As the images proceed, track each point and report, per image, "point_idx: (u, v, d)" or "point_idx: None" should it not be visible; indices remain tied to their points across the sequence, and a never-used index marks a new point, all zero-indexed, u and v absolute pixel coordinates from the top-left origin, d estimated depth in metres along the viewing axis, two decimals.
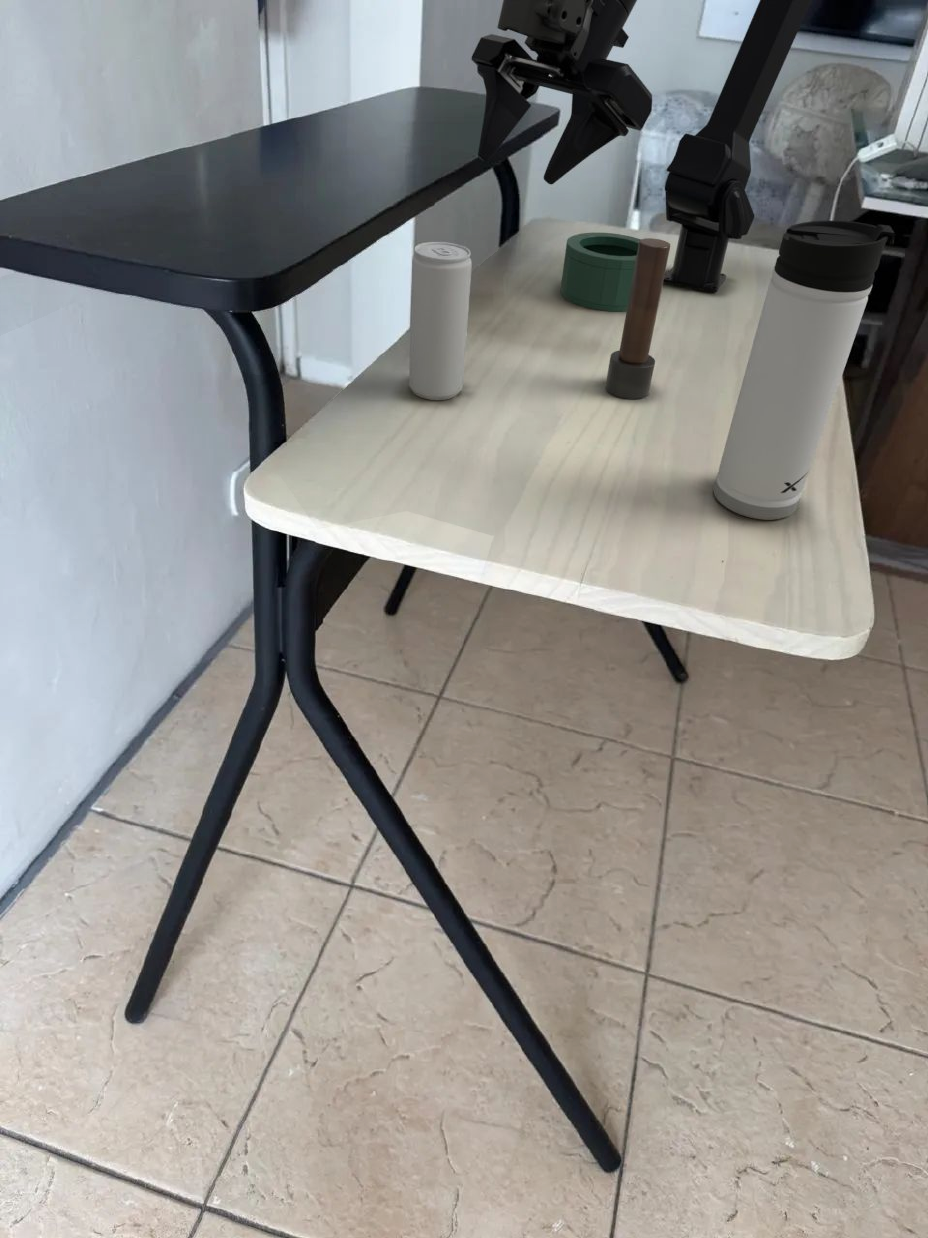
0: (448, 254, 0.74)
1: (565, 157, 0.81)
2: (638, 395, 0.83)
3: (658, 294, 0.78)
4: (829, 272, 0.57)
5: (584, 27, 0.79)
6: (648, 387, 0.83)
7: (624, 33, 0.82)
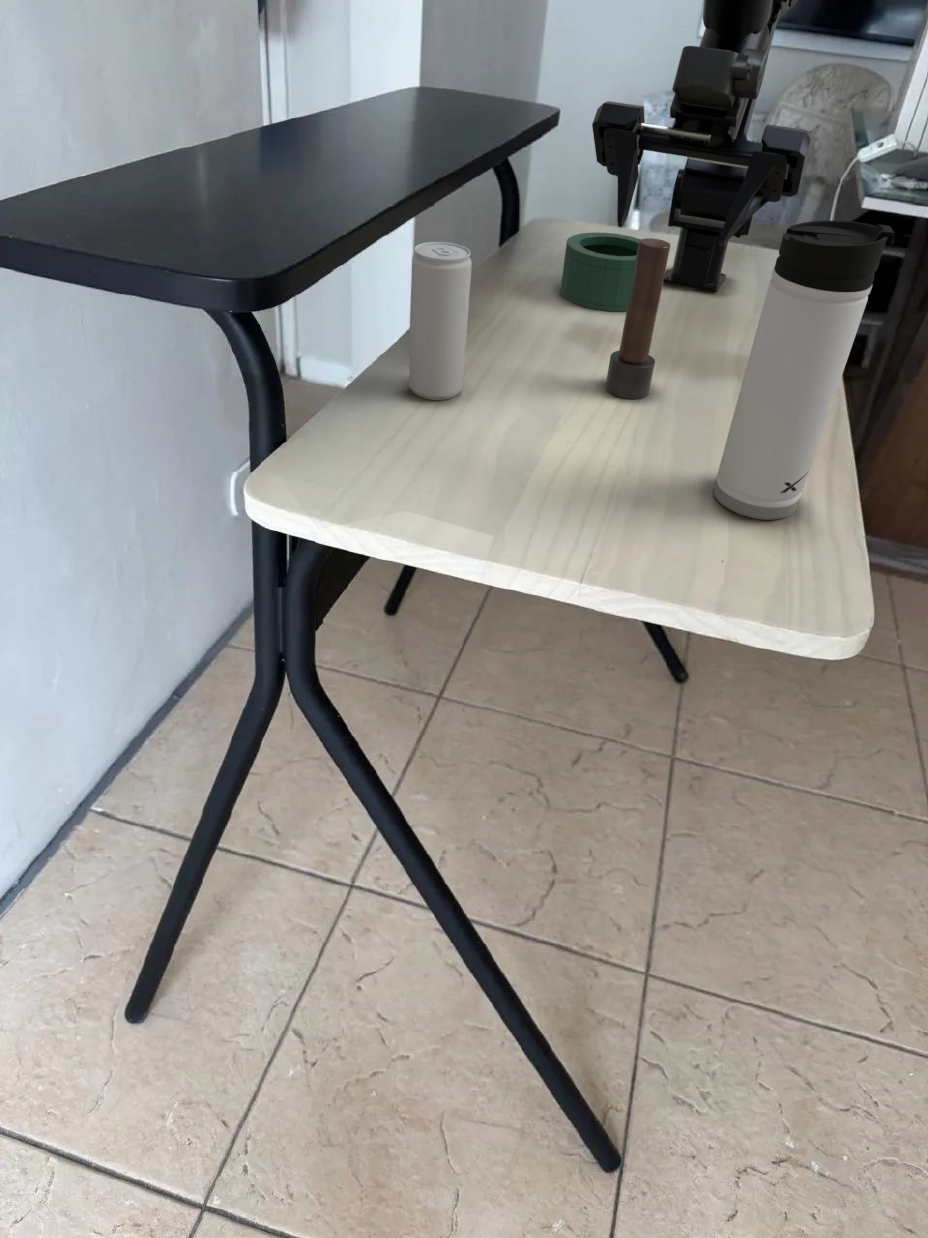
0: (448, 254, 0.74)
1: (739, 219, 0.80)
2: (638, 395, 0.83)
3: (658, 294, 0.78)
4: (829, 272, 0.57)
5: None
6: (648, 387, 0.83)
7: None
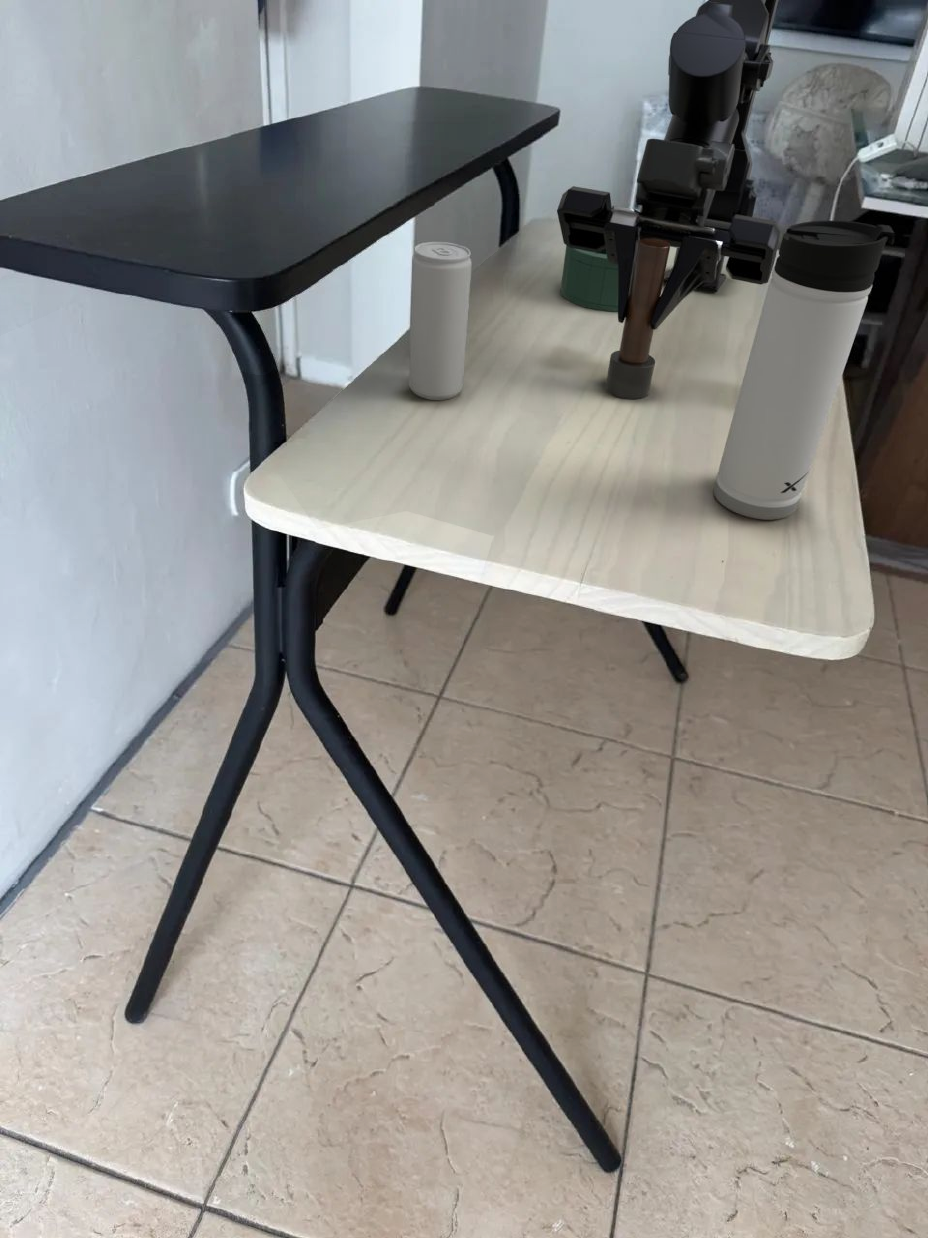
0: (448, 254, 0.74)
1: (671, 303, 0.79)
2: (638, 395, 0.83)
3: (658, 294, 0.78)
4: (829, 272, 0.57)
5: None
6: (648, 387, 0.83)
7: None
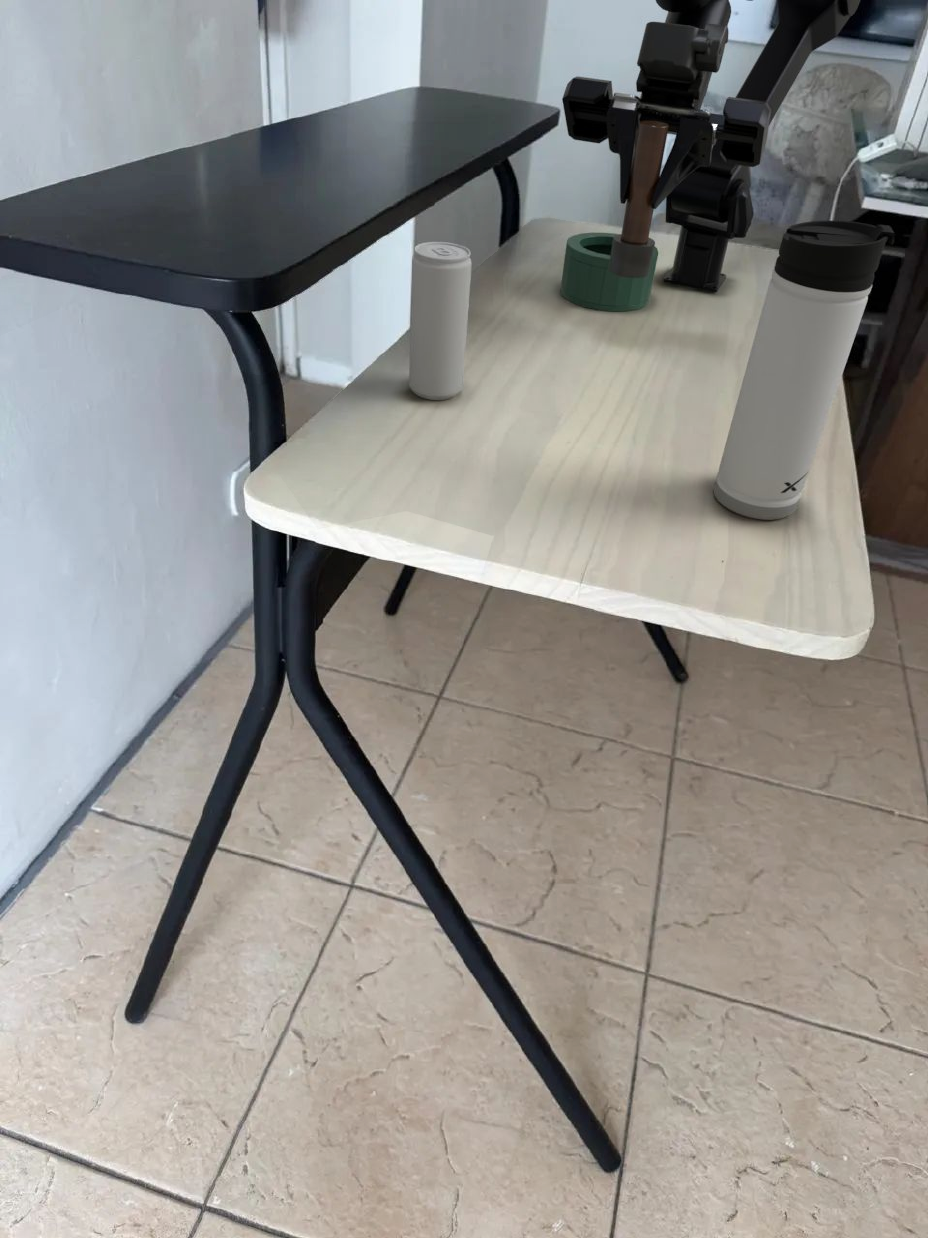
0: (448, 254, 0.74)
1: (669, 182, 0.84)
2: (639, 275, 0.89)
3: (657, 174, 0.84)
4: (829, 272, 0.57)
5: None
6: (649, 267, 0.89)
7: None
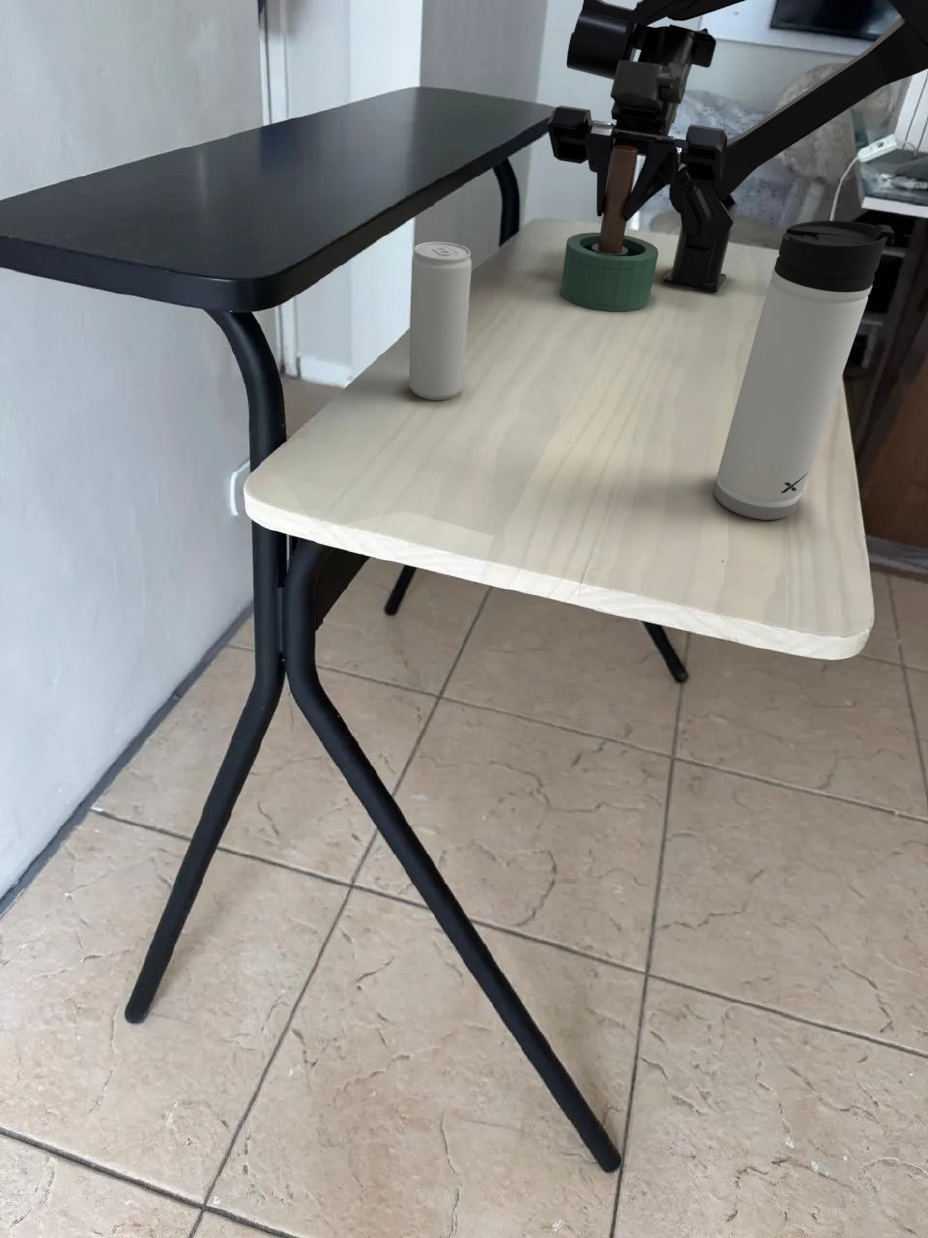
0: (448, 254, 0.74)
1: (640, 198, 0.97)
2: None
3: (629, 191, 0.96)
4: (829, 272, 0.57)
5: None
6: None
7: None
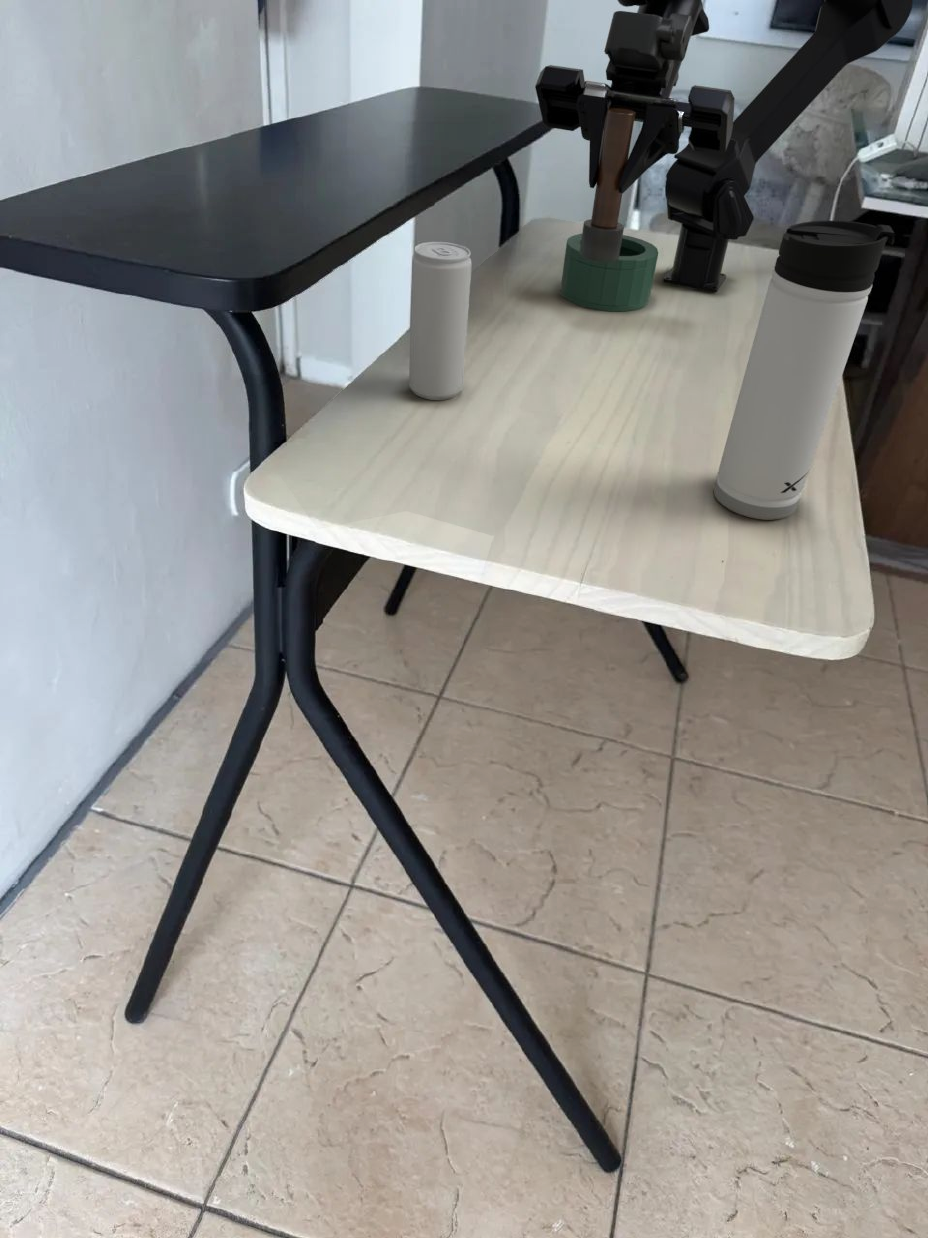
0: (448, 254, 0.74)
1: (636, 168, 0.87)
2: (608, 258, 0.91)
3: (625, 160, 0.87)
4: (829, 272, 0.57)
5: None
6: (618, 251, 0.92)
7: (678, 73, 0.91)
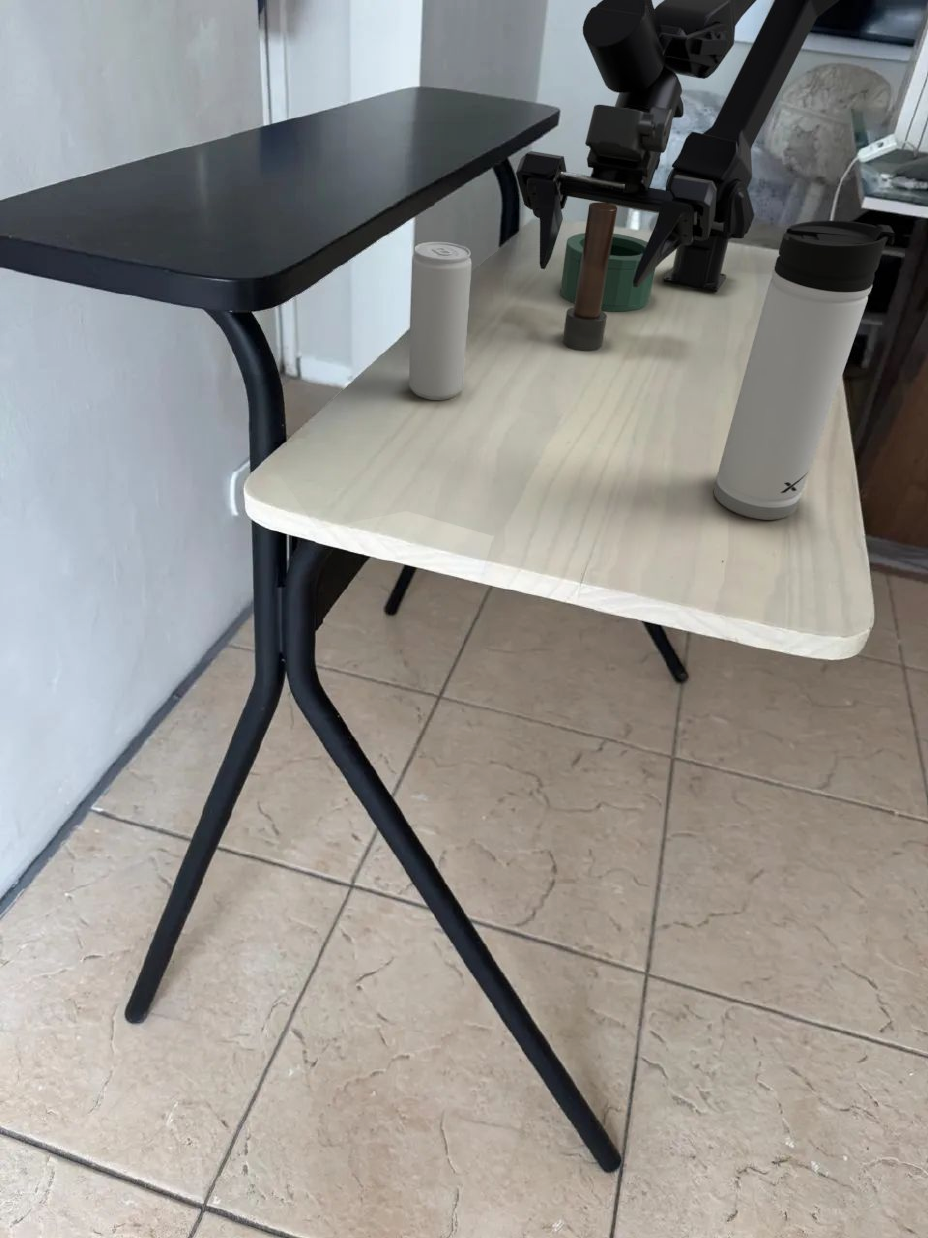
0: (448, 254, 0.74)
1: (651, 262, 0.86)
2: (592, 347, 0.91)
3: (607, 253, 0.86)
4: (829, 272, 0.57)
5: None
6: (601, 340, 0.91)
7: (659, 157, 0.90)
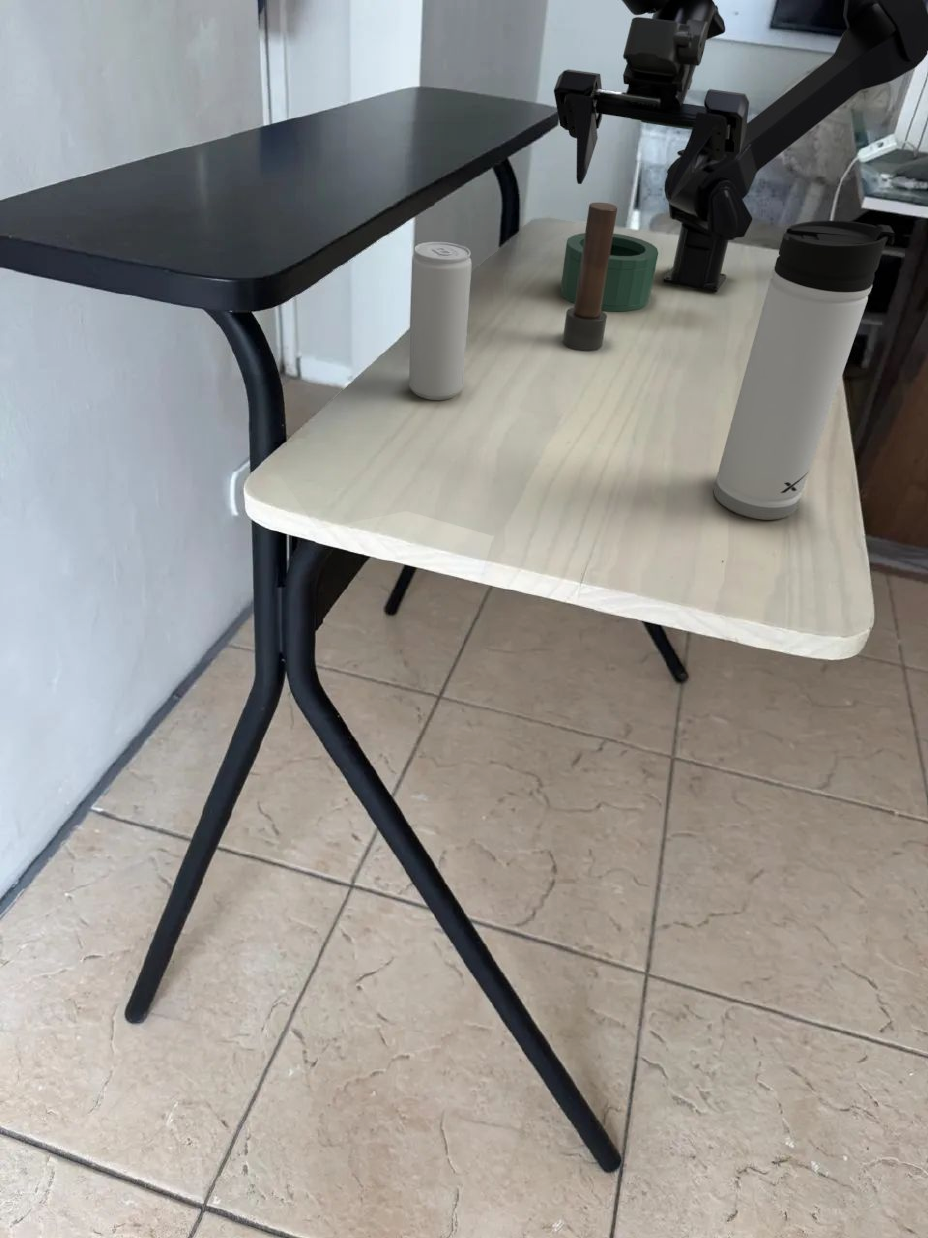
0: (448, 254, 0.74)
1: (685, 174, 0.89)
2: (592, 347, 0.91)
3: (607, 253, 0.86)
4: (829, 272, 0.57)
5: None
6: (601, 340, 0.91)
7: None
